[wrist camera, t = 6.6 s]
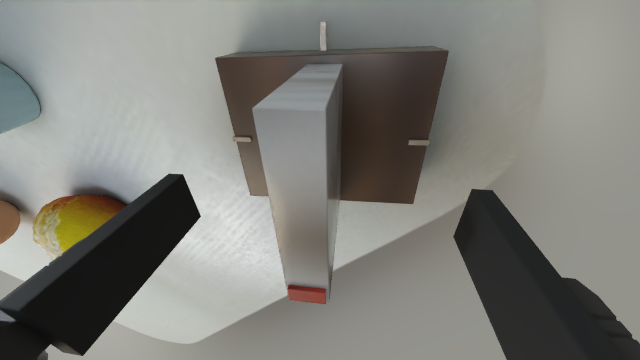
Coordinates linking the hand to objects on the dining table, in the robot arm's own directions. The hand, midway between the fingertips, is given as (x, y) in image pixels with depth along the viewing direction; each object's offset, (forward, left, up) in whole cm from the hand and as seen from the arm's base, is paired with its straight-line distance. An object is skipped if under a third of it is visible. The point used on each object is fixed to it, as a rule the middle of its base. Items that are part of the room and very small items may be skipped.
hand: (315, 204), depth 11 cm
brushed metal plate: (0, 0, -7) cm, 7 cm away
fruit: (+29, +13, -10) cm, 34 cm away
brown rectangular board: (0, 0, -10) cm, 10 cm away
